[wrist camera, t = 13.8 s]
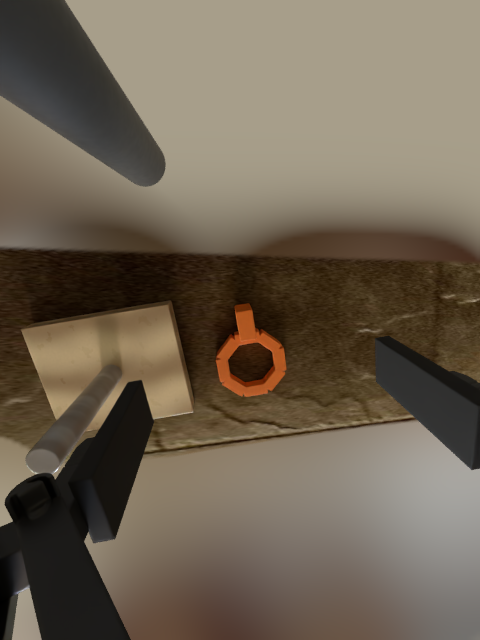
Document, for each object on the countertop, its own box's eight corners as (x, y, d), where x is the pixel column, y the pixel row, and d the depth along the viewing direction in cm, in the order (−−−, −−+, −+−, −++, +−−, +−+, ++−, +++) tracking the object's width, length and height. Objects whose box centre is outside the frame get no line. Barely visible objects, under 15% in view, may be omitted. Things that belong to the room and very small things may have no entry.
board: (33, 323, 29) (-126, 396, 16) (171, 300, 29) (131, 351, 16) (71, 424, 32) (-33, 555, 19) (194, 402, 33) (178, 516, 19)
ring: (207, 309, 30) (205, 317, 27) (275, 298, 30) (282, 304, 27) (223, 395, 33) (224, 410, 30) (286, 384, 33) (293, 398, 30)
